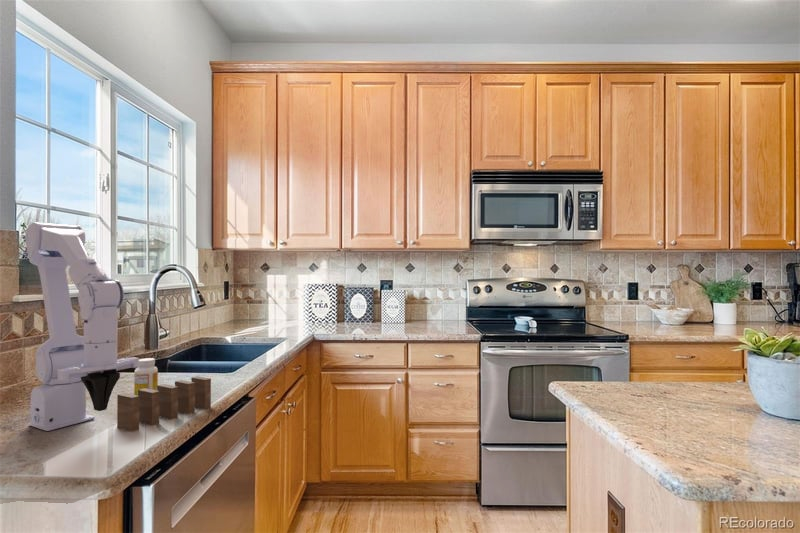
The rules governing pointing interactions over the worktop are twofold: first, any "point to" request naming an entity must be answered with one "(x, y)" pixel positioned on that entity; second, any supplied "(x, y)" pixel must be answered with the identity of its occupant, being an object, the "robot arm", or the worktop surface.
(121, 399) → the domino
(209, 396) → the domino
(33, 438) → the worktop surface
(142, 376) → the supplement bottle
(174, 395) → the domino
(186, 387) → the domino
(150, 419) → the domino
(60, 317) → the robot arm
